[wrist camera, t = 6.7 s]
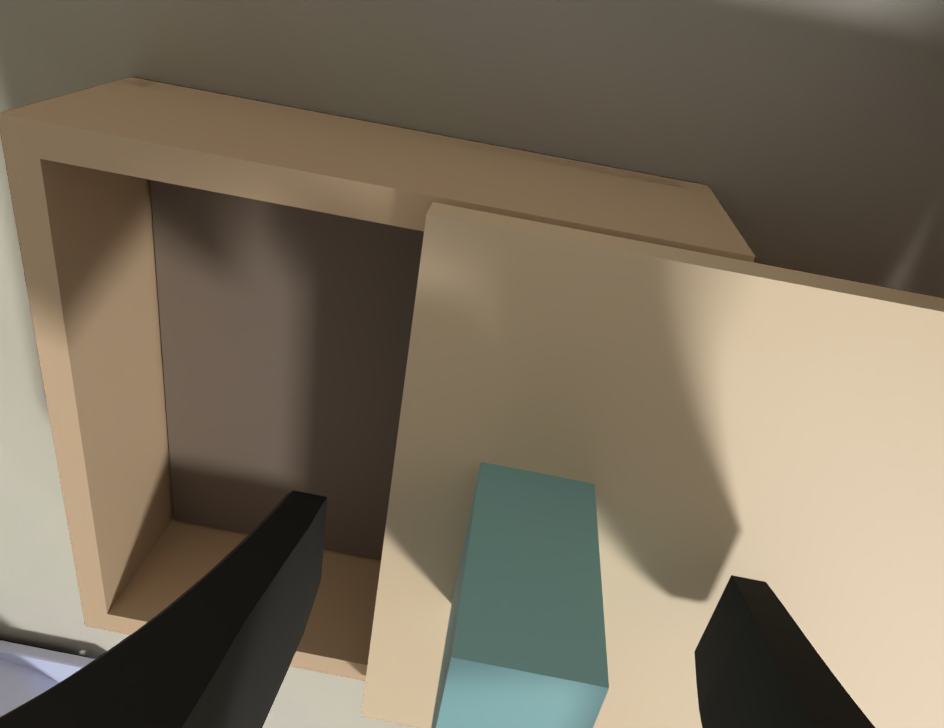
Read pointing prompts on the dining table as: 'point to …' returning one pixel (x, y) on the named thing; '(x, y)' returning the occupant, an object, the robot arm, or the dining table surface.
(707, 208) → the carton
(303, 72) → the dining table surface
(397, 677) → the tan flat square block
